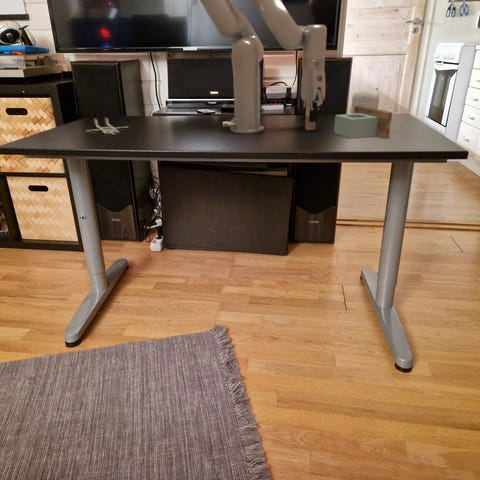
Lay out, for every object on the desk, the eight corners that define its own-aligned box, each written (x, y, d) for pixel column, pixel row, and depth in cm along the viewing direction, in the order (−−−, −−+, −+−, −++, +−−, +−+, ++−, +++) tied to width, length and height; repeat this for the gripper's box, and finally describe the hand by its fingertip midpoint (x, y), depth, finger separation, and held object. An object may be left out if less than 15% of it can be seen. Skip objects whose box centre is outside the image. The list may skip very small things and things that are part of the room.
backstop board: (334, 146, 126) (337, 117, 123) (307, 135, 142) (309, 109, 138) (388, 141, 132) (392, 112, 128) (356, 131, 148) (359, 105, 144)
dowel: (307, 133, 146) (309, 98, 141) (303, 131, 149) (304, 97, 144) (316, 132, 147) (318, 97, 142) (311, 130, 150) (313, 96, 145)
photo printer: (376, 122, 162) (381, 90, 157) (374, 124, 159) (378, 91, 153) (351, 121, 167) (354, 89, 161) (348, 122, 164) (351, 90, 158)
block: (349, 138, 132) (351, 119, 129) (333, 132, 140) (335, 115, 138) (376, 135, 135) (378, 117, 132) (358, 130, 143) (360, 113, 140)
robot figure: (81, 128, 167) (90, 137, 149) (79, 120, 165) (88, 128, 147) (121, 124, 173) (134, 132, 156) (120, 116, 172) (133, 124, 154)
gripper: (335, 66, 132) (331, 123, 140) (311, 64, 146) (309, 116, 154) (315, 66, 130) (312, 125, 138) (292, 65, 144) (291, 117, 152)
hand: (310, 120), depth 146 cm, fingers closed on dowel, 3 cm apart
